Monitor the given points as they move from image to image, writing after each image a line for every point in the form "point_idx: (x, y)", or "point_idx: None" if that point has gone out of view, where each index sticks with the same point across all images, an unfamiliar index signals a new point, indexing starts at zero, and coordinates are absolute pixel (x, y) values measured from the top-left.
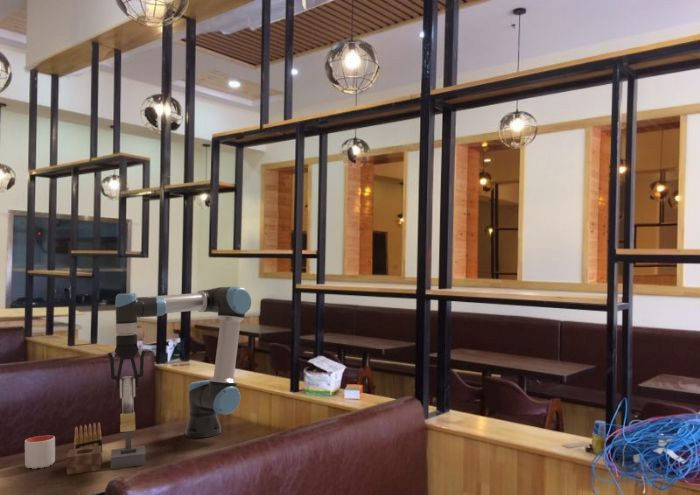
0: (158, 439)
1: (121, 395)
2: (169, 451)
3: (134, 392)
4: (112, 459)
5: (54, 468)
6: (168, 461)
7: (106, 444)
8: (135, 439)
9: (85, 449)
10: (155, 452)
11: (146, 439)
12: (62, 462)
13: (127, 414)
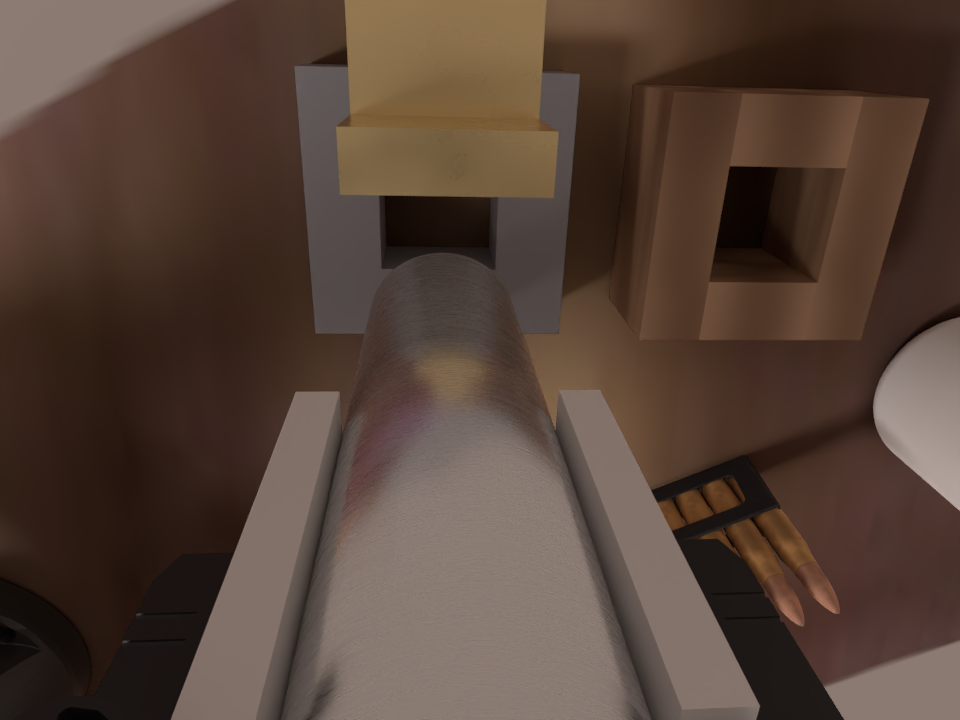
0: None
1: (581, 415)
2: (158, 347)
3: (296, 439)
4: (563, 73)
5: (886, 286)
6: (133, 68)
7: None
8: None
9: (760, 284)
10: (258, 365)
11: None
12: (822, 397)
13: (451, 128)
